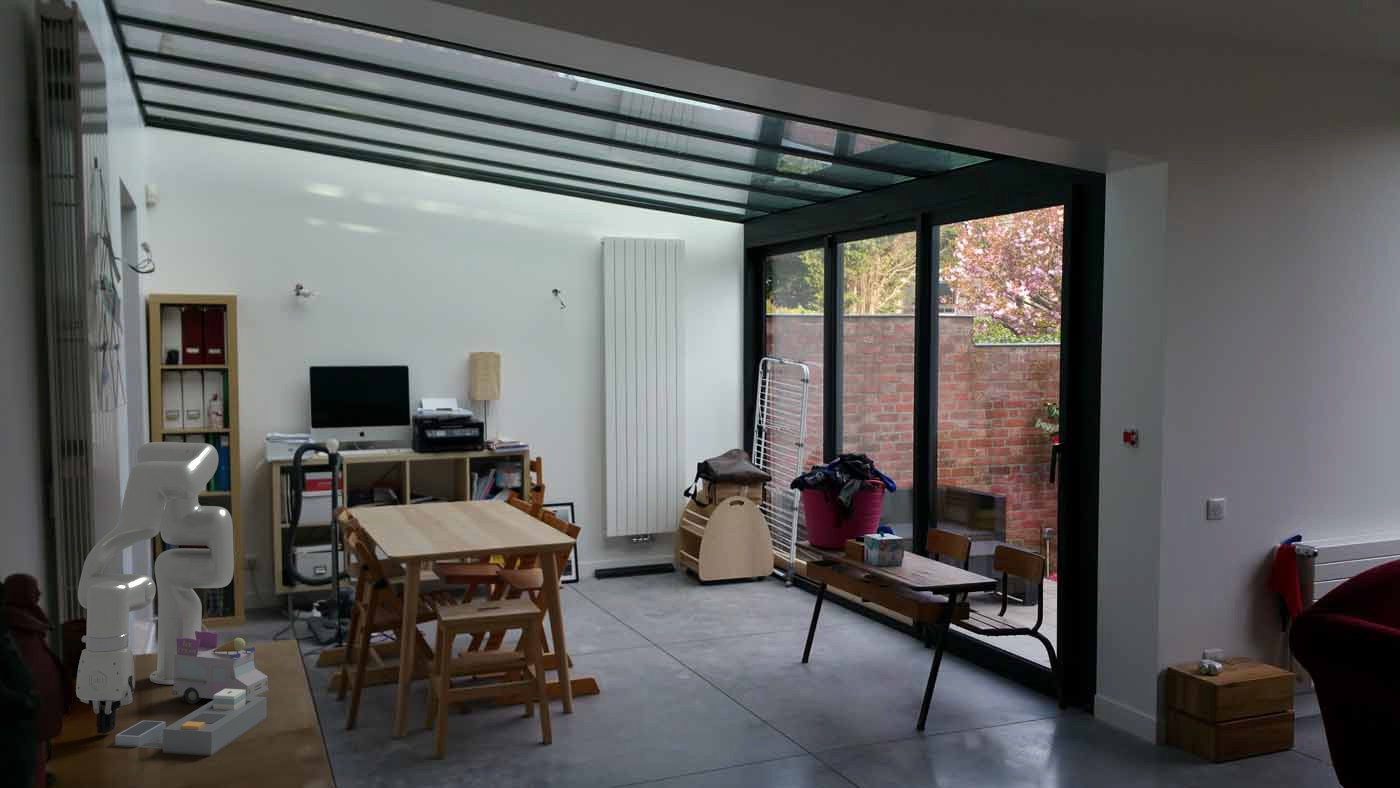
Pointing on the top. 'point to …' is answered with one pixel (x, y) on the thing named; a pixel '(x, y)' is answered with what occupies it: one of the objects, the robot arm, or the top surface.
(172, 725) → the grey compartment tray
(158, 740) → the mat
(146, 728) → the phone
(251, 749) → the top surface
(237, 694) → the charger
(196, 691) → the toy vehicle
